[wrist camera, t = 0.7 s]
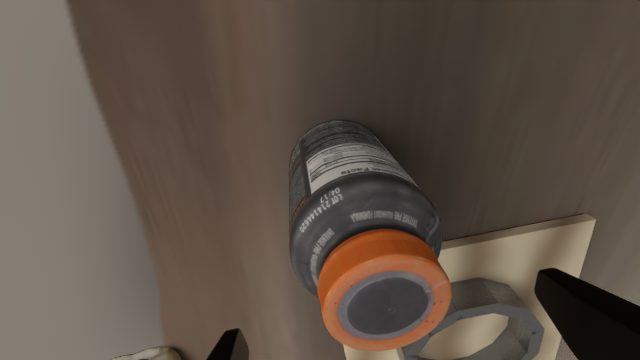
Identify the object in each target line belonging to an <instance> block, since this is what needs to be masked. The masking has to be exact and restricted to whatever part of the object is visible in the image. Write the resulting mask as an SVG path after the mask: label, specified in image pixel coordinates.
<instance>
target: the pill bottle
mask: <svg viewBox="0 0 640 360" xmlns="http://www.w3.org/2000/svg"><path fill="white" fill-rule="evenodd" d="M289 226H290V229H289V237H290V258H291V263H292V266H293V269H294V271H295V273H296V275H297V277H298V278H299V280H300V281H301V283H302V284H303V285H304V287H305V288H306V289H308V290H309V291H310V292H311V293H312V294H313V295H315V296H316V297H318V298H319V300H320V304H321V311H322V316H323V320H324V323H325V325H326V327H327V329H328V331H329V333H330V334H331V335H332V336H333V337H334V338H335V339H336V340H338V341H339V342H341V343H342V344H344V345H346V346H348V347H351V348H353V349H358V350H364V351H385V350H392V349H396V348H400V347H403V346H406V345H408V344H411V343H413V342H415V341H417V340H419V339H421V338H422V337H424V336H425V335H427V334H428V333H430V332H431V331H432V330H433V329H435V328H436V327H437V325H438V324H439V323H440V322H441V321H442V319H443V318H444V316H445V315H446V313H447V311H448V309H449V306H450V303H451V298H452V289H451V283H450V280H449V278H448V276H447V274H446V272H445V271H444V269H443V268H442V266H441V265H440V263H439V262H438V258H439V255H440V251H441V245H442V239H443V234H442V227H441V222H440V218H439V215H438V213H437V211H436V209H435V207H434V205H433V204H432V203H431V201H430V200H429V199H428V197H427V196H426V195H425V194H424V193H423V192H422V191H421V189H420V188H419V187H418V186H417V185H416V184H415V182H414V181H413V180H412V179H411V178H410V176H409V175H408V174H407V173H406V172H405V170H404V169H403V168H402V167H401V166H400V165H399V163H398V162H397V161H396V160H395V159H394V158H393V156H392V155H391V154H390V153H389V152H388V151H387V150H386V148H385V147H384V146H383V145H382V144H381V143H380V141H379V140H378V139H377V138H376V136H375V135H374V134H373V133H372V132H371V131H369V130H368V129H367V128H365V127H364V126H362V125H360V124H358V123H355V122H352V121H347V120H331V121H327V122H324V123H321V124H319V125H316V126H314V127H313V128H311V129H310V130H308V131H307V132H306V133H305V134H304V135H303V136H302V137H301V138H300V139H299V140H298V142H297V144H296V145H295V147H294V149H293V151H292V154H291V158H290V164H289Z"/></svg>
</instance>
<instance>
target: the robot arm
mask: <svg viewBox="0 0 640 360" xmlns="http://www.w3.org/2000/svg"><path fill="white" fill-rule="evenodd" d="M534 292H535V295H536V297H537V299H538V301H539V302H540V304H541V305H542V307H543V308H544V310H545V311H546V313H547V315H548V316H549V318H550V319H551V321H552V322H553V324H554V325H555V327H556V328H557V330H558V332H559V333H560V335H561V336H562V338H563V339H564V341H565V342H566V344H567V345H568V347H569V348H570V349H571V351H572V352H573V353H574V355H575V356H576V357H577V359H578V360H640V306H638V305H636V304H633V303H631V302H629V301H627V300H625V299H623V298H620V297H618V296H616V295H614V294H612V293H609V292H607V291H605V290H603V289H601V288H598V287H596V286H594V285H592V284H590V283H588V282H585V281H583V280H581V279H579V278H577V277H574V276H572V275H570V274H568V273H566V272H563V271H561V270H559V269H557V268H546V269H541V270H539V271H538V273H537V277H536V282H535V287H534ZM248 359H249V351H248V345H247V343H246V340H245V338H244V336H243V334H242V332H241V330H240V329H239V328H236V329H231V330H227V331H225V332H224V334H223V335H222V337H221V338H220V340H219V341H218V343H217V344H216V346H215V347H214V349H213V350H212V352H211V353H210V355H209V356H208V358H207V359H206V360H248Z"/></svg>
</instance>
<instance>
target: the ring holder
mask: <svg viewBox="0 0 640 360" xmlns="http://www.w3.org/2000/svg"><path fill="white" fill-rule="evenodd" d="M595 222H596V219H595V218H593V217H591V216H590V215H588V214H582V215H577V216H572V217H567V218H561V219H556V220H551V221H546V222H541V223H536V224H531V225H526V226H521V227H516V228H511V229H506V230H501V231H495V232H490V233H485V234H480V235H475V236H470V237H465V238H460V239H455V240H450V241H445V242H442V245H441V251H440V255H439V258H438V262H439V263H440V265H441V266H442V268H443V269H444V271H445V272H446V274H447V276H448V278H449V280H450V283H451V289H452V298H451V303H450V306H449V309H448V311H447V313H446V315H445V316H444V318H443V319H442V321H441V322H440V323H439V324H438V325H437V327H436V328H435V329H433V330H432V331H431V332H430V333H428V334H427V335H425V336H424V337H422V338H421V339H419V340H417V341H415V342H413V343H411V344H408V345H406V346H403V347H400V348H396V349H392V350H385V351H364V350H358V349H353V348H351V347H348V346H346V345H344V344H343V346H344V351H345V355H346V360H555V357H556V354H557V350H558V347H559V344H560V340H561V337H562V336H561V335H560V333H559V332H558V330H557V328H556V327H555V325H554V324H553V322H552V321H551V319H550V318H549V316H548V315H547V313H546V311H545V310H544V308H543V307H542V305H541V304H540V302H539V301H538V299H537V297H536V295H535V292H534V287H535V282H536V277H537V273H538V271H539V270H541V269H546V268H557V269H559V270H561V271H563V272H566V273H568V274H570V275H572V276H574V277H577V278H579V276H580V273H581V269H582V266H583V262H584V259H585V256H586V252H587V249H588V246H589V242H590V239H591V235H592V232H593V229H594V225H595Z"/></svg>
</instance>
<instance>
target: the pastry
mask: <svg viewBox="0 0 640 360" xmlns="http://www.w3.org/2000/svg"><path fill="white" fill-rule="evenodd" d="M111 360H182V359H181V357H180V356H179V354H178V353H177V352H176V351H175V350H173V349H172V348H169V347H166V348H164V345H162V346H157V347H153V348H149V349H146V350H143V351H140V352H138V353H135V354H130V355H124V356H119V357H115V358H113V359H111Z"/></svg>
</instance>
